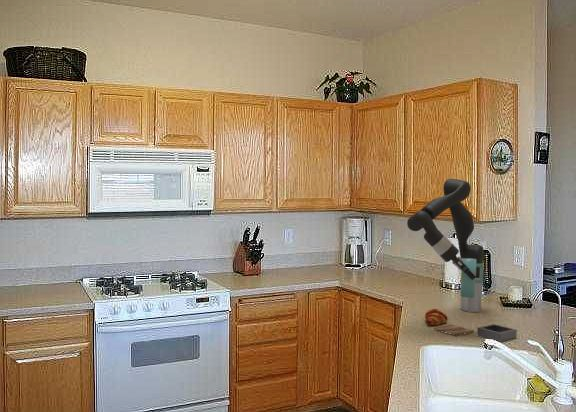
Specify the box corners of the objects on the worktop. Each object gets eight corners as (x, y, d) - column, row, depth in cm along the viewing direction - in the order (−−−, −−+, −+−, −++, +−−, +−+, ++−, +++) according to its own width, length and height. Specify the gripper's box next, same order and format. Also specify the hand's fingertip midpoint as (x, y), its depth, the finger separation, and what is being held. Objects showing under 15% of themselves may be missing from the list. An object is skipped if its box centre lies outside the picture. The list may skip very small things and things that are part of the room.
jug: (461, 297, 240) (463, 259, 239) (459, 294, 246) (460, 257, 245) (483, 298, 239) (485, 260, 238) (480, 295, 245) (482, 258, 244)
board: (433, 330, 248) (433, 328, 248) (451, 326, 255) (451, 324, 255) (456, 336, 238) (456, 334, 238) (473, 332, 245) (473, 330, 245)
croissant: (435, 323, 272) (428, 308, 274) (454, 316, 268) (447, 300, 269) (423, 333, 254) (415, 316, 255) (443, 325, 249) (435, 308, 251)
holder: (477, 335, 239) (477, 327, 239) (493, 331, 246) (493, 323, 246) (500, 342, 230) (500, 333, 230) (516, 337, 237) (516, 329, 236)
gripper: (454, 244, 236) (482, 274, 235) (448, 241, 250) (475, 268, 249) (441, 256, 236) (469, 286, 235) (436, 252, 251) (462, 280, 250)
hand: (472, 277), depth 242 cm, fingers closed on jug, 6 cm apart
